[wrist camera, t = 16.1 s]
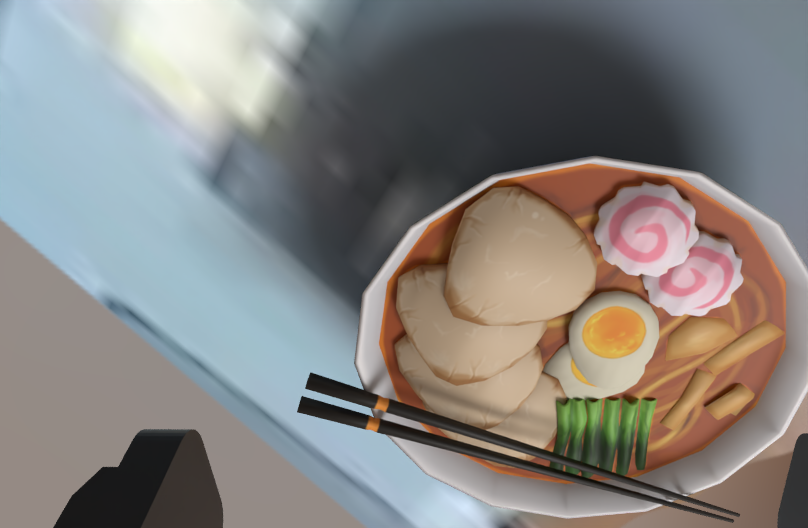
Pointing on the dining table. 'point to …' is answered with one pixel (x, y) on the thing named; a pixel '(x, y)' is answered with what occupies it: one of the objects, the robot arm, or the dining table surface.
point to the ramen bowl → (583, 339)
